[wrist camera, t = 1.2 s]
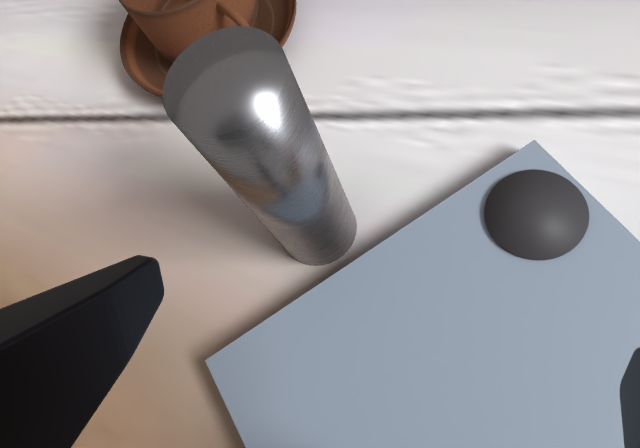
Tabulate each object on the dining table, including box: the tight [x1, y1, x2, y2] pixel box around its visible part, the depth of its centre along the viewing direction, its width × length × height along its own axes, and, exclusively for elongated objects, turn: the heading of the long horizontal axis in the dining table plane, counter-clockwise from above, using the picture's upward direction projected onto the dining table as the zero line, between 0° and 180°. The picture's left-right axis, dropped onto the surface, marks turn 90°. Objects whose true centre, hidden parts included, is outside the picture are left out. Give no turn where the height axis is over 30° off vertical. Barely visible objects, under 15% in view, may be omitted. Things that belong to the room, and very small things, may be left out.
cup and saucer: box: [119, 0, 296, 98], centre depth 31 cm, size 12×12×6 cm
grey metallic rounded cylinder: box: [163, 26, 357, 266], centre depth 21 cm, size 4×4×12 cm
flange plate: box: [205, 140, 640, 448], centre depth 19 cm, size 19×14×6 cm
